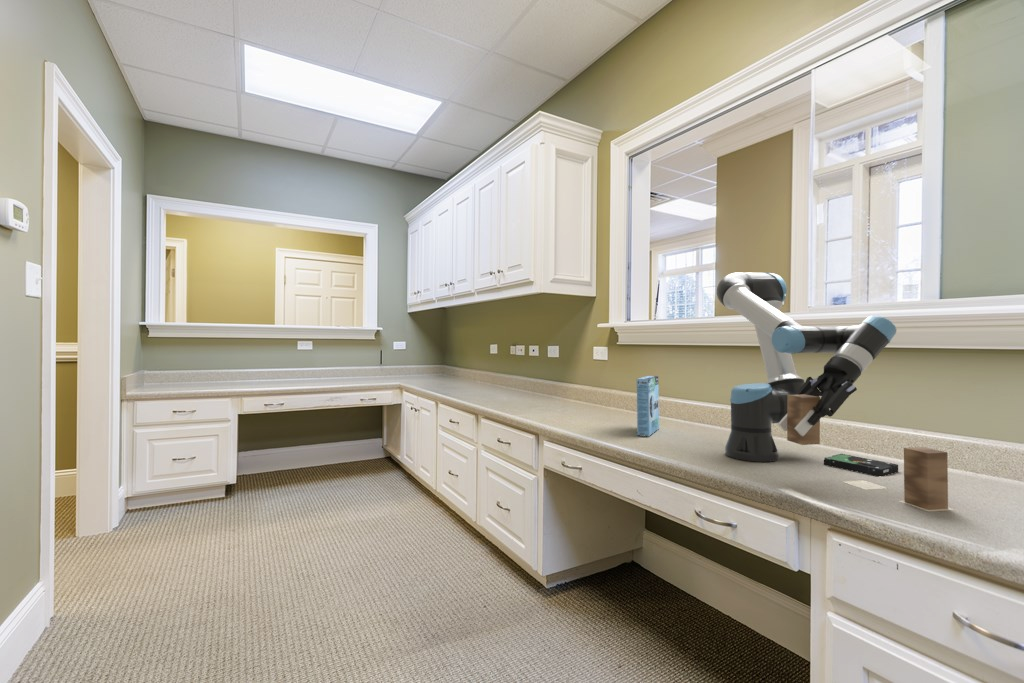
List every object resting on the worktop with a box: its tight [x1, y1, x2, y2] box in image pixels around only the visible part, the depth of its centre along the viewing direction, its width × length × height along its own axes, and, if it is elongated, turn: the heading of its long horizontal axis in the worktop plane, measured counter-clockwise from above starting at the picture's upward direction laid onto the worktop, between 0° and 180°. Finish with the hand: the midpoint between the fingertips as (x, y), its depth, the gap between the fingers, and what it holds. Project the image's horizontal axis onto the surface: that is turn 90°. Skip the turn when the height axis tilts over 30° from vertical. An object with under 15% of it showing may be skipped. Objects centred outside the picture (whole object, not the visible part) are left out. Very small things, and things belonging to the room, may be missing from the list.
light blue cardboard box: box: [636, 375, 660, 437], centre depth 188 cm, size 20×5×23 cm, turn 150°
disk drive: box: [823, 453, 899, 477], centre depth 133 cm, size 10×3×15 cm
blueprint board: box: [843, 479, 955, 512], centre depth 107 cm, size 23×18×1 cm
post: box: [786, 394, 821, 446], centre depth 117 cm, size 5×5×12 cm
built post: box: [903, 446, 949, 510], centre depth 99 cm, size 5×5×12 cm
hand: (790, 429), depth 116 cm, fingers closed on post, 5 cm apart
